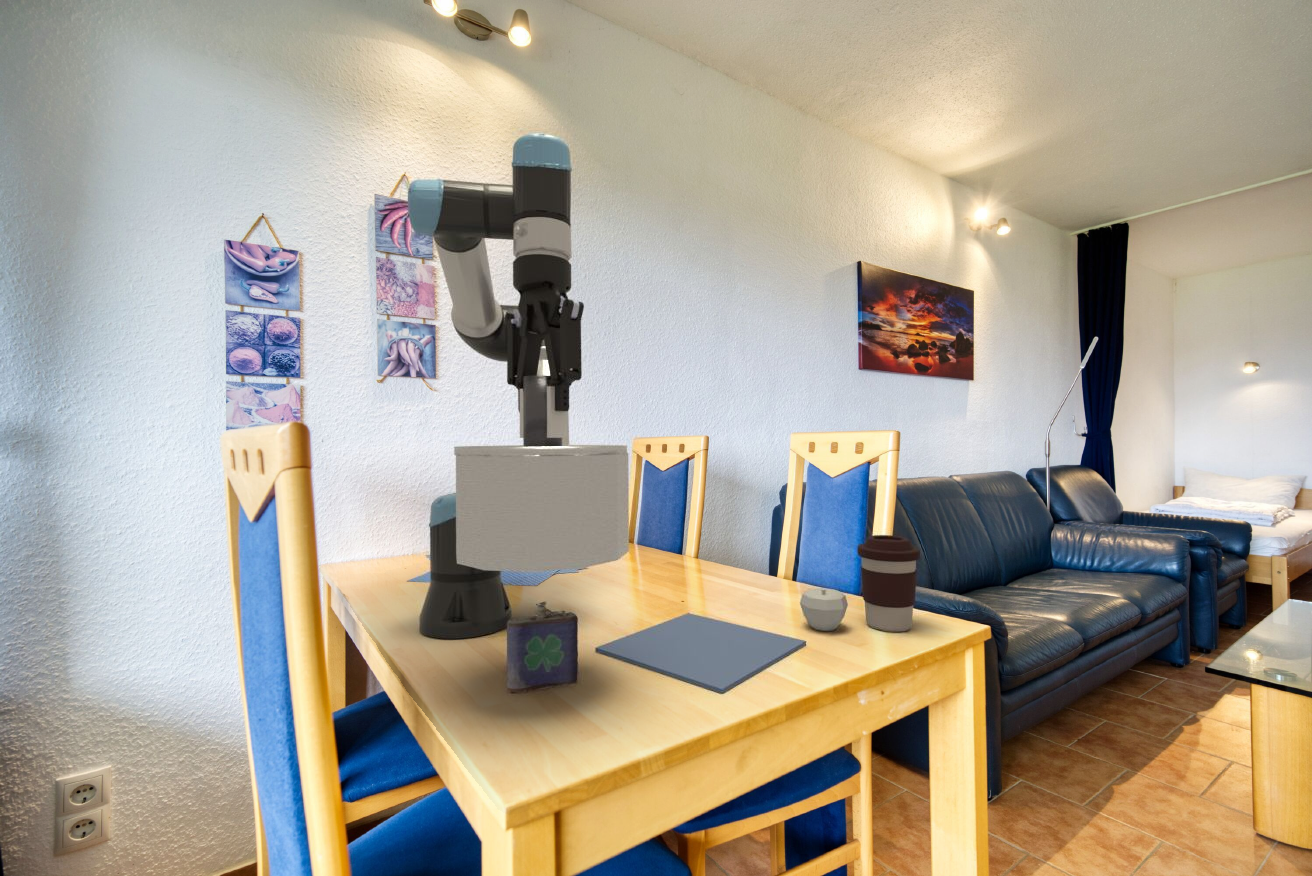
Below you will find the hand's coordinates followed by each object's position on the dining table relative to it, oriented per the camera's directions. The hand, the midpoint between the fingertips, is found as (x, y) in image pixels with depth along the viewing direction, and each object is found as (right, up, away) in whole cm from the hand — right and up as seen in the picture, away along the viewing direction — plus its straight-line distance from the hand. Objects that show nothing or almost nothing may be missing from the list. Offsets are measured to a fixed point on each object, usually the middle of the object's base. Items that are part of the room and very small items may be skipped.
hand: (543, 437), depth 78 cm
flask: (0, -33, 0) cm, 33 cm away
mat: (+22, -32, +13) cm, 41 cm away
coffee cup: (+54, -32, +23) cm, 67 cm away
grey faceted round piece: (+43, -32, +22) cm, 58 cm away
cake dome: (0, -15, 0) cm, 15 cm away
